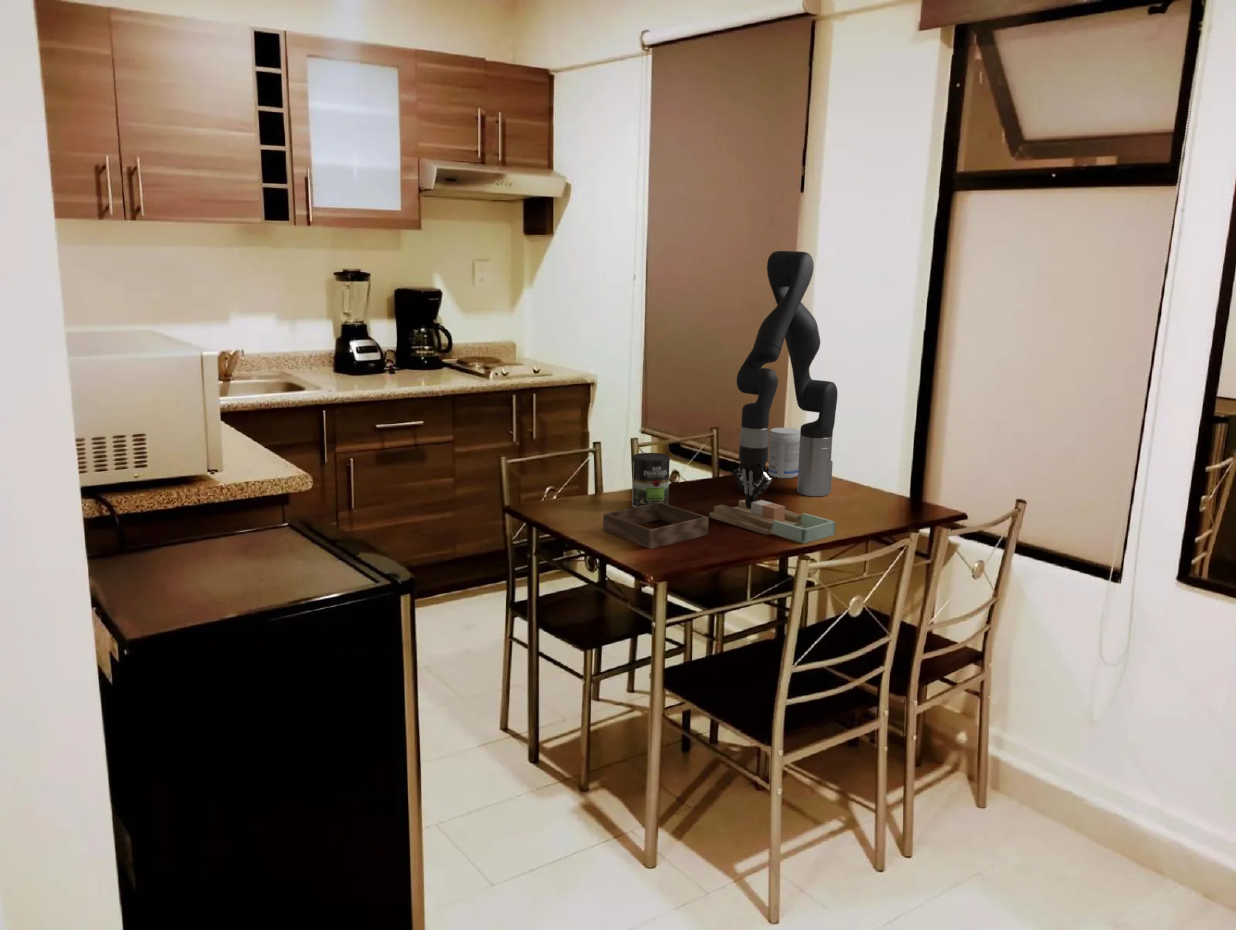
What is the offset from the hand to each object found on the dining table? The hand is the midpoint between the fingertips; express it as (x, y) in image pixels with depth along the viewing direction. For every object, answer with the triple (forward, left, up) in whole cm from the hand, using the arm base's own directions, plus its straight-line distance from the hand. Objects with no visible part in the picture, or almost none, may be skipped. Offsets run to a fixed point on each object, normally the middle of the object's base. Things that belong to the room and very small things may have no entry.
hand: (750, 507), depth 250 cm
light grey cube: (0, +4, -2) cm, 4 cm away
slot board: (0, +2, -3) cm, 4 cm away
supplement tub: (-45, -28, -3) cm, 53 cm away
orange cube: (0, +8, -2) cm, 8 cm away
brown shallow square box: (+29, -6, -3) cm, 29 cm away
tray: (0, +18, -3) cm, 18 cm away
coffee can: (+13, -26, -3) cm, 29 cm away
